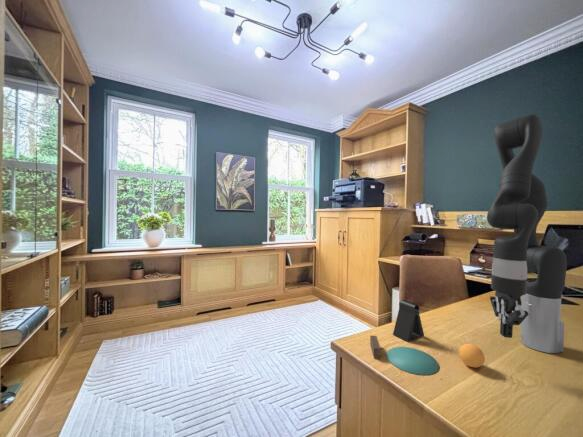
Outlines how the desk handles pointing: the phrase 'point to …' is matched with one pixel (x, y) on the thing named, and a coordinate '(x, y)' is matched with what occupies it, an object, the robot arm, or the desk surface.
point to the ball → (471, 355)
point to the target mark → (412, 360)
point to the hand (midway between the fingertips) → (505, 336)
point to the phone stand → (408, 322)
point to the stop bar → (375, 347)
